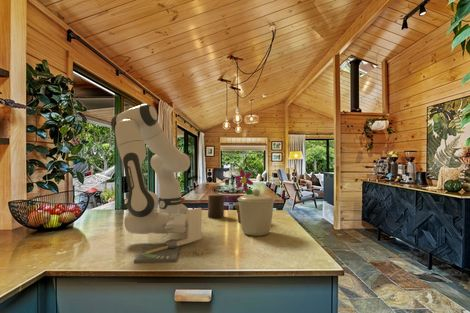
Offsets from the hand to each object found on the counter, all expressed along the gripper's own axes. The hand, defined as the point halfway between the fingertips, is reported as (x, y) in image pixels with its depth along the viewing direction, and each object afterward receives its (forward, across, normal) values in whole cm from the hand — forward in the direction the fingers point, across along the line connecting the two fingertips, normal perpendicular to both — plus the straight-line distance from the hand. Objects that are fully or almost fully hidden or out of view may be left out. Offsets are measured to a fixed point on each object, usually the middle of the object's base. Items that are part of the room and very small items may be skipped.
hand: (197, 222), depth 118 cm
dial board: (-14, -16, +8) cm, 23 cm away
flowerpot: (+27, +34, +8) cm, 44 cm away
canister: (+28, +10, +8) cm, 30 cm away
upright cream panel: (-8, -10, +6) cm, 14 cm away
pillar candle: (+10, +50, +8) cm, 51 cm away
